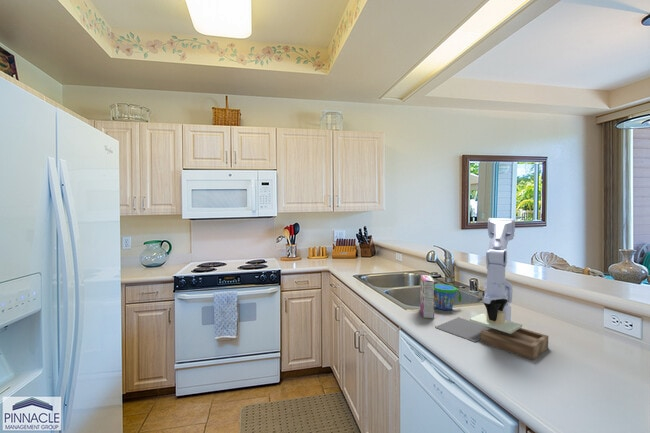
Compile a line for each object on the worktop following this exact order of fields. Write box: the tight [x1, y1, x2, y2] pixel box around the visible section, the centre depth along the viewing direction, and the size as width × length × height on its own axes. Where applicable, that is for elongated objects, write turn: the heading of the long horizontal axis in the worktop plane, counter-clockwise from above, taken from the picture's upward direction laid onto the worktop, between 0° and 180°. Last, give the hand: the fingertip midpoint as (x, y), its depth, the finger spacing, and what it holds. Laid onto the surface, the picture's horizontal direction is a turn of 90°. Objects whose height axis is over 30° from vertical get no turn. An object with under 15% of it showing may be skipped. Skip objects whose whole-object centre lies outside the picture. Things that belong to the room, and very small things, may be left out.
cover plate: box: [469, 310, 523, 334], centre depth 110 cm, size 10×14×5 cm
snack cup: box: [434, 283, 463, 311], centre depth 143 cm, size 16×10×10 cm
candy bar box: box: [419, 274, 436, 319], centre depth 134 cm, size 11×5×16 cm, turn 168°
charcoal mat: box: [434, 316, 491, 343], centre depth 118 cm, size 18×16×1 cm
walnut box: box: [480, 327, 549, 361], centre depth 105 cm, size 14×16×4 cm
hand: (494, 319), depth 110 cm, fingers closed on cover plate, 3 cm apart
